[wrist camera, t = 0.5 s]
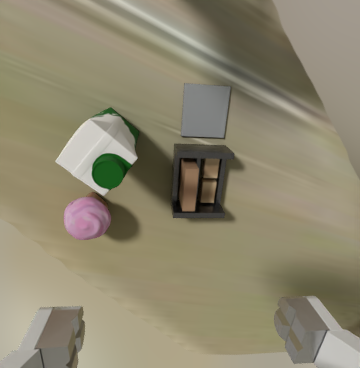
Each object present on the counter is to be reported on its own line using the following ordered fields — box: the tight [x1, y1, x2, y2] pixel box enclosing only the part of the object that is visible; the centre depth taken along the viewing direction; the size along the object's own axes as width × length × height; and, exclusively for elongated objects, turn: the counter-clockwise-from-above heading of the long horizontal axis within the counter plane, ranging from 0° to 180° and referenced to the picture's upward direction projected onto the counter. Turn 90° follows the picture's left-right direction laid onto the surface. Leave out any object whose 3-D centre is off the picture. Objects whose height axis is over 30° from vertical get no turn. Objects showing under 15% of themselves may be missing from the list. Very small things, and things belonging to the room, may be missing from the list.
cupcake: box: [64, 192, 111, 240], centre depth 50 cm, size 9×9×10 cm
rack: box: [171, 144, 234, 218], centre depth 52 cm, size 14×11×6 cm
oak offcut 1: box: [202, 158, 220, 178], centre depth 53 cm, size 5×3×2 cm, turn 176°
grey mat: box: [181, 83, 231, 138], centre depth 49 cm, size 10×9×1 cm
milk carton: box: [55, 107, 139, 196], centre depth 40 cm, size 9×9×20 cm
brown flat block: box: [178, 158, 199, 211], centre depth 51 cm, size 9×2×8 cm, turn 176°
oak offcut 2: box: [199, 178, 217, 203], centre depth 55 cm, size 5×3×2 cm, turn 175°
